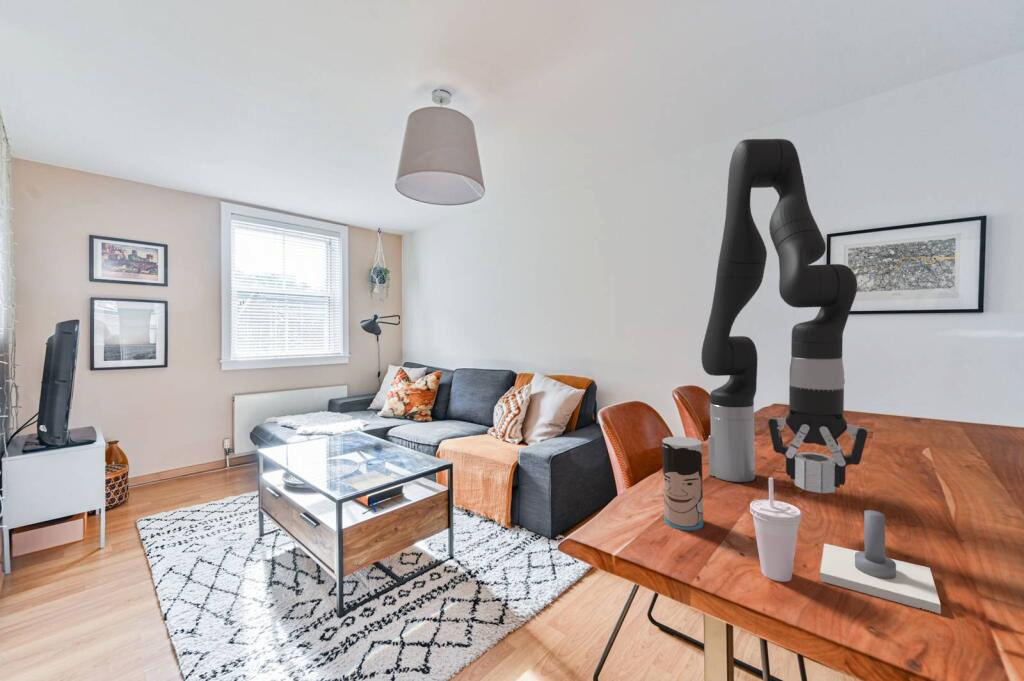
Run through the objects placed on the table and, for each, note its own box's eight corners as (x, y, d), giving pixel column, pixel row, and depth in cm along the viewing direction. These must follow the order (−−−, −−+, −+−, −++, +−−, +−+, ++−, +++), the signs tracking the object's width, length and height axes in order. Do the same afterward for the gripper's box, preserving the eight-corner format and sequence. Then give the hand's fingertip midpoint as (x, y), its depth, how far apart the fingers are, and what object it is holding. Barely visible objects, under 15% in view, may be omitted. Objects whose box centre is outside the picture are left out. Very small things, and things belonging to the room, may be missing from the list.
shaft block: (820, 580, 60) (819, 515, 60) (824, 550, 68) (823, 493, 68) (940, 614, 53) (940, 539, 52) (929, 576, 60) (929, 511, 60)
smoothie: (741, 563, 65) (739, 471, 65) (781, 560, 66) (780, 469, 65) (770, 589, 59) (768, 487, 58) (814, 585, 59) (813, 484, 59)
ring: (793, 487, 73) (793, 459, 73) (797, 477, 77) (797, 450, 77) (834, 495, 70) (834, 465, 69) (835, 484, 74) (836, 456, 74)
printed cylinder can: (656, 518, 81) (654, 439, 81) (683, 511, 84) (681, 435, 84) (683, 533, 75) (681, 448, 75) (711, 525, 78) (710, 442, 77)
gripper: (763, 383, 74) (762, 479, 75) (871, 391, 65) (869, 500, 66) (770, 378, 80) (770, 467, 81) (870, 384, 71) (869, 484, 72)
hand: (814, 481), depth 73 cm, fingers closed on ring, 5 cm apart
